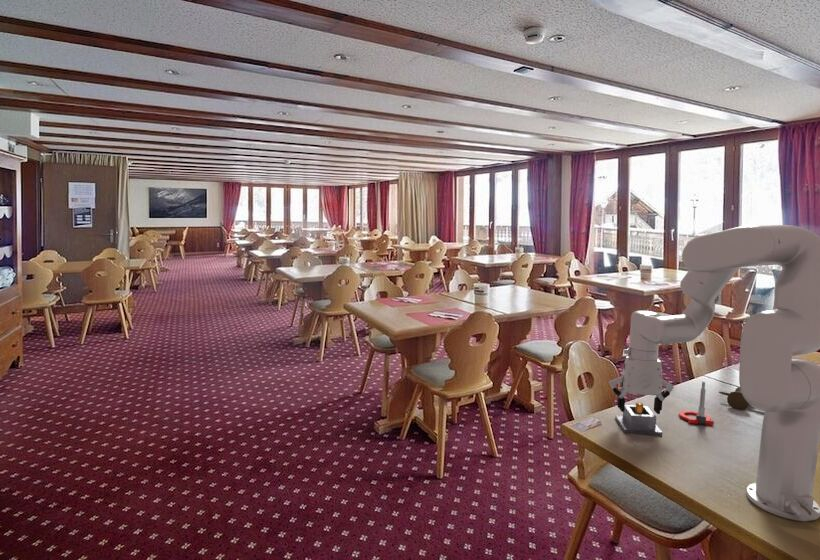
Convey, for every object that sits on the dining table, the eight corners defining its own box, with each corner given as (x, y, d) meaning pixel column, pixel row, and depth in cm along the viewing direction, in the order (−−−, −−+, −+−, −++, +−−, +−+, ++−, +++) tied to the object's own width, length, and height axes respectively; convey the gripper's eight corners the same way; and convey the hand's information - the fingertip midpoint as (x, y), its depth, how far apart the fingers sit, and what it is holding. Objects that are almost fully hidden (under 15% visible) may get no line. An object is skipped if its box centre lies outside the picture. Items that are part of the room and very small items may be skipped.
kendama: (789, 424, 143) (713, 404, 158) (795, 416, 150) (721, 397, 164) (792, 405, 143) (715, 386, 157) (798, 398, 149) (723, 380, 163)
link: (655, 430, 136) (656, 417, 135) (630, 428, 136) (631, 415, 136) (646, 418, 143) (646, 405, 143) (622, 417, 144) (623, 404, 144)
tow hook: (674, 413, 151) (686, 424, 142) (676, 373, 150) (689, 381, 141) (703, 415, 150) (717, 426, 141) (705, 374, 149) (720, 383, 140)
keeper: (662, 435, 134) (664, 411, 134) (624, 433, 136) (626, 409, 135) (650, 420, 144) (652, 398, 143) (615, 418, 146) (616, 396, 145)
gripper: (614, 356, 135) (610, 414, 137) (680, 359, 132) (675, 418, 134) (608, 349, 142) (604, 404, 145) (670, 351, 140) (666, 408, 142)
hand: (639, 411), depth 139 cm, fingers open, 9 cm apart
